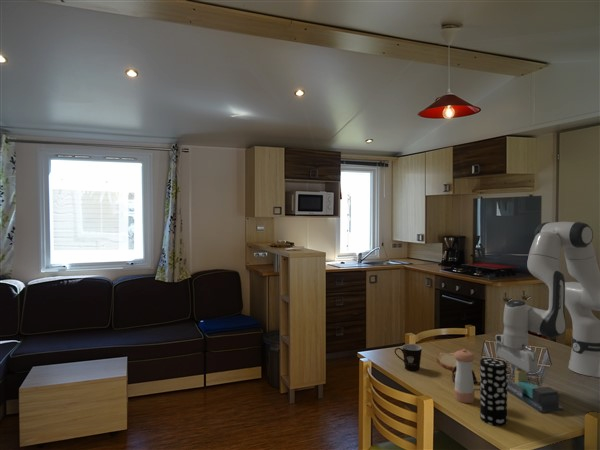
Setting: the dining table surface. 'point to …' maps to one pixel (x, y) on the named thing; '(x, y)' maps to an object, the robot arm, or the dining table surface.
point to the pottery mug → (455, 375)
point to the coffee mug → (411, 356)
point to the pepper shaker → (464, 377)
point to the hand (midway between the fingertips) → (515, 375)
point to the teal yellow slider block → (524, 382)
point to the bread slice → (447, 360)
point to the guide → (537, 397)
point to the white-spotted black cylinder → (493, 391)
